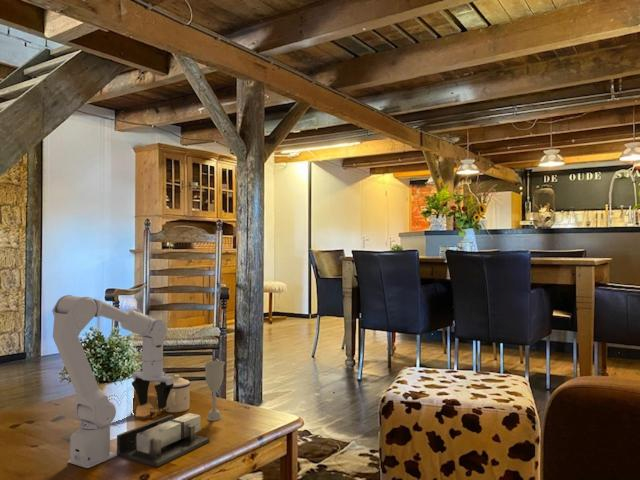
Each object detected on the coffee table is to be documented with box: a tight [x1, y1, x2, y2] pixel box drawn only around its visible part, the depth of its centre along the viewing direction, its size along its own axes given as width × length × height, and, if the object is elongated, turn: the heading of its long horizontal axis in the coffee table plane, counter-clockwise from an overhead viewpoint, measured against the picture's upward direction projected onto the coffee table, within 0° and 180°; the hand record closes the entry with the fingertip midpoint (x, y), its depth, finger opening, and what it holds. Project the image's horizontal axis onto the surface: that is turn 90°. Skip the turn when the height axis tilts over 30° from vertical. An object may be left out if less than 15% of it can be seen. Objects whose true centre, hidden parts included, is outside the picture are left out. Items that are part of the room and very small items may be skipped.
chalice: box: [203, 360, 226, 422], centre depth 174 cm, size 7×7×18 cm
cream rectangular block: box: [137, 412, 201, 454], centre depth 149 cm, size 20×4×4 cm, turn 151°
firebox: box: [116, 414, 210, 468], centre depth 148 cm, size 20×15×6 cm
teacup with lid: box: [163, 374, 191, 413], centre depth 182 cm, size 12×9×12 cm
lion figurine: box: [132, 390, 166, 416], centre depth 178 cm, size 15×5×9 cm, turn 110°
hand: (152, 406), depth 156 cm, fingers open, 7 cm apart
